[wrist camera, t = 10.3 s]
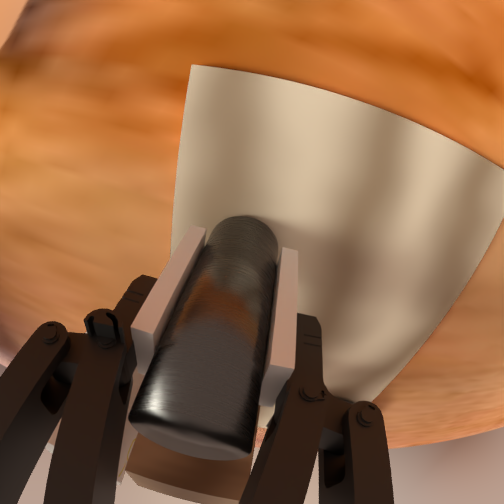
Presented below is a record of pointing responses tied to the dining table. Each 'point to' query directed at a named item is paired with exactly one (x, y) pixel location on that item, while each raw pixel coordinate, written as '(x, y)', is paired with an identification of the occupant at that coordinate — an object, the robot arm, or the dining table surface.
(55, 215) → the dining table surface
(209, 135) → the block
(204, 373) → the t-handle
